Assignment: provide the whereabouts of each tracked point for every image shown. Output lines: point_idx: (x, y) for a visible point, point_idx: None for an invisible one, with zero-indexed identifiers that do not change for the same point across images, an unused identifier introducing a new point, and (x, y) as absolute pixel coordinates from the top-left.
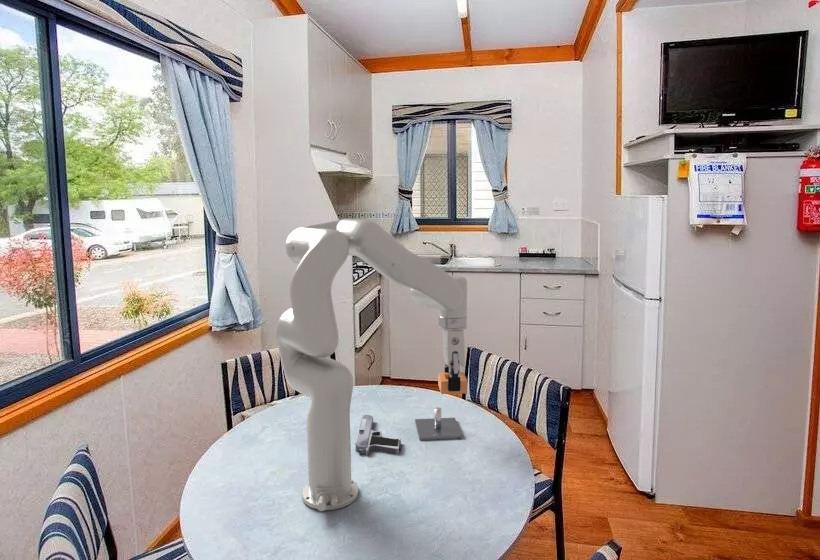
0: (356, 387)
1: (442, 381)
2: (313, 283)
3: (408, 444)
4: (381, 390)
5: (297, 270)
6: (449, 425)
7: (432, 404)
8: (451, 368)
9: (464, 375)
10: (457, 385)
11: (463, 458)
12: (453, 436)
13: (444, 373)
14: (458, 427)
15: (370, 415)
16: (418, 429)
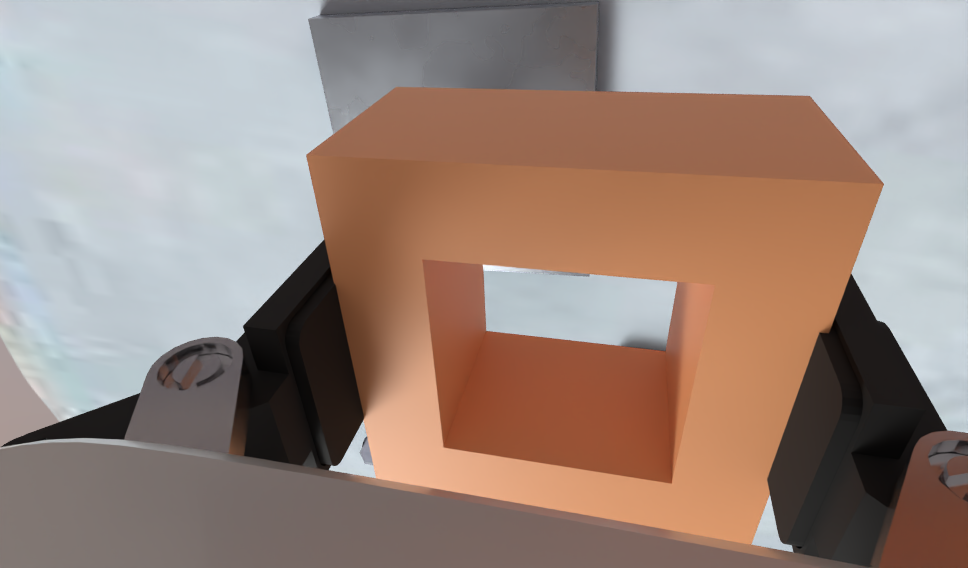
0: (61, 416)
1: (751, 538)
2: None
3: (627, 320)
4: (47, 338)
5: None
6: (435, 77)
7: (116, 126)
8: (315, 392)
9: (507, 173)
10: (901, 352)
11: (911, 40)
12: (595, 71)
13: (404, 436)
14: (467, 15)
15: (366, 442)
16: (491, 266)
